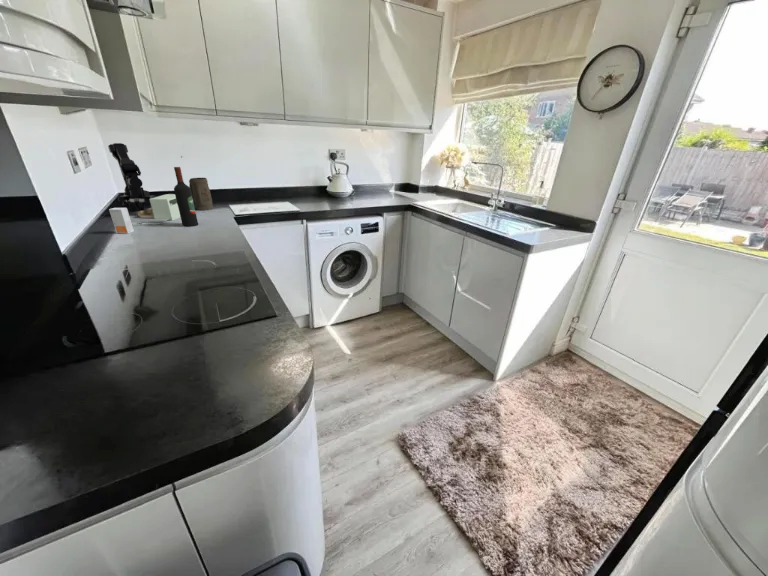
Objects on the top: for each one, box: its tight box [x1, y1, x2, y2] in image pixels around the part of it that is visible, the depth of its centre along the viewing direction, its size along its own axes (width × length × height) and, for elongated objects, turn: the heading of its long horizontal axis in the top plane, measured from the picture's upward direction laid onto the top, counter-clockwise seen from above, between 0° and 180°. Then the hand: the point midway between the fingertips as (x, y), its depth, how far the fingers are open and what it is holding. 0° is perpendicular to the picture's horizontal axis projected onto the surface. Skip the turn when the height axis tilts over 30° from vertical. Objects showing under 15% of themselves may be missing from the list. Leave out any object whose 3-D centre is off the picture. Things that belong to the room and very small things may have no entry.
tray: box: [136, 207, 155, 219], centre depth 191 cm, size 12×18×4 cm, turn 93°
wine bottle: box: [173, 166, 199, 228], centre depth 171 cm, size 8×8×30 cm
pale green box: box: [149, 193, 181, 222], centre depth 190 cm, size 17×10×12 cm, turn 3°
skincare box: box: [108, 207, 135, 235], centre depth 159 cm, size 6×4×12 cm
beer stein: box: [188, 177, 215, 211], centre depth 212 cm, size 15×11×20 cm
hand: (142, 213), depth 191 cm, fingers closed
